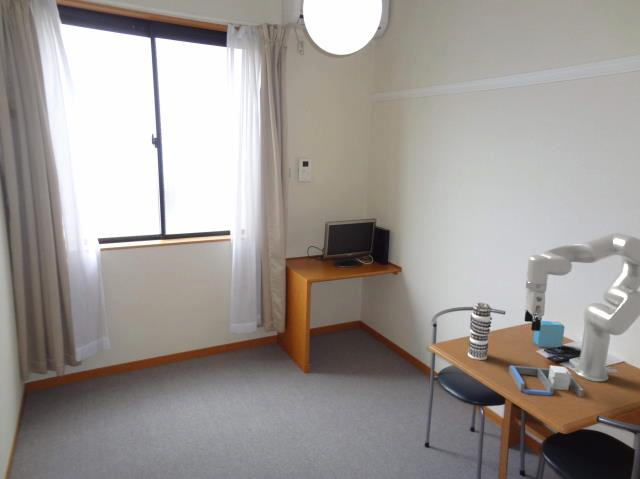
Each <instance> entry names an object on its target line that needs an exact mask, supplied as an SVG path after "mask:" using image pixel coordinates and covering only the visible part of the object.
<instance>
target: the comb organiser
mask: <svg viewBox="0 0 640 479" xmlns="http://www.w3.org/2000/svg"><path fill="white" fill-rule="evenodd" d="M549 370H550V368H547V367H536V366H535V367H532V366H522V365H521V366H520V365H509V368H508V372H509V374H510V375H509V376H511V378H512V379H513V381H514V383H515V386H517V389H518V390H519V392H520V393H521V392H522V393H523V394H531V395H543V396H552V395H554V390H555V389H554V387H553V386H552V384H551V383H550V381H549V380H548V377H549ZM521 375H526V376H527V375H528V376H537V378H538V379H539V381H540V382H541V384H542V385H543V387H544V388H545V390H540V389H530V388H525V381H524V380H523V378H522V377H521ZM569 387H571V388H572V389H573V391H574V392H575V393H576V394H577V395H578V397H580V398H583V397H584V393H585V390H584V388H583V387H582V386H581V385H580V384H579V382H577V380H576V379H575V378H574V377H573V375H572V374H571V375H570V382H569Z"/></svg>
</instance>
